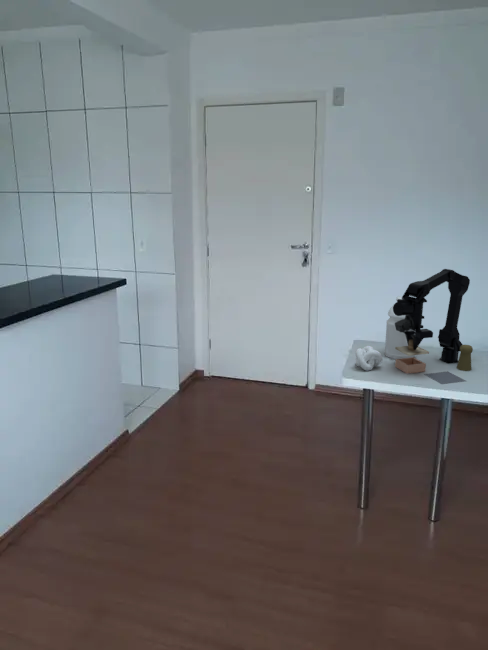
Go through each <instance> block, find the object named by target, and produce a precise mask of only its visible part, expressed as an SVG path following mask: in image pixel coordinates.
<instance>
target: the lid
mask: <svg viewBox="0 0 488 650" xmlns="http://www.w3.org/2000/svg"><path fill="white" fill-rule="evenodd" d="M395 349H396V350H398V351H400V352H402V353H404V354H406V355H408V356H411V355H415V356H420V355H428V354H430V351H429V350H426V349H425V348H422V347H420V346H418V347H417V349H416V350H413V339H411V340H409V345H408V346H402V347H395Z"/></svg>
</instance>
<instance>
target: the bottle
mask: <svg viewBox="0 0 488 650" xmlns="http://www.w3.org/2000/svg"><path fill="white" fill-rule="evenodd" d="M402 296H403V295H401V296H399V295H398V296H397V297H396V299H395V300H396V302H395V303H397V300H398V299H402ZM393 306H394V304H393V305H392V306H390V308H389V310H388V311H387V312H388V313H387V315H388V316H389V318H388V319H387V320H386V328H385V329H386V330H385V344H384V345H385V346H384V355H385V356H386V357H388V358H389V359H393V360H396V359H402V358H412V357H414V358H416V355H411V356H408V355H406V354H404V353H402V352H400V351H398V350H396V349H395V347H402V346H408V343H407V339H406V336H405V334H404V333H403V332H400V331H397V330H396V327H395V323H396V322H398V321H400V320H402V319H405V316H406V315H402V316H397V315H395V314H394V312H393Z"/></svg>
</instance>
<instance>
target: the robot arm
mask: <svg viewBox="0 0 488 650" xmlns="http://www.w3.org/2000/svg"><path fill="white" fill-rule="evenodd" d="M470 281H471V280H470V278H469V277H468V276H467V275H463V274H461V273H459V272H456V271H455V270H454V269H449V268H443V269H441V270H440V271H439V272H438V273H435V274H434V275H431V276H430V277H428V278H426V279H424V280H419V281H413V282H411V283H409V284H408V287H407V288H406V290H405V292H404V293H403V295H401V296H402V299H398V300H397V301H396V302H397V303H396V302H395V303H393V305H394V306H393V305H392V306H393V312H394V314H395V315H397V316H402V315H406V316H405V319H402V320H400V321H398V322H396V323H395V327H396V330H397V331H400V332H403V333H404V334H405V336H406V339H407V343H408V345H409V340H411V339H413V350H416V349H417V347H420V344H421V343H422V342H423V340H424V339H429V338H430V339H431V338H432V339H433V338H434V332H433V331H432V330H430V329H428V328H424V325H423V324H422V322H423V319H425V316H424V315H423V312H424V304H425V303H428V300H427V298H425V297H427V296H428V295H429V294H430V293H431V290H433V289H435V288H436V287H438V286H441V285H443V284H444V283H446V282H447V288H448V291H449V294H450V296H449V303H448V308H447V314H446V319H445V324H444V326H443V328H442V329H439V330H438V336H437V339H438V344H439V347H440V348H442V351H441V357H440V358H439V361H442V362H444V363H445V364H458V361H459V353H460V346H461V345H464V344H463V343H462V341H461V340H460V336H461V335H460V332H459V329H458V324H459V319H460V318H459V317H460V313H461V307H462V301H463V296H464V295H465V294H466V293H467V292H468V289H469V286H470V285H471V284H470V283H471V282H470Z"/></svg>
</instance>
